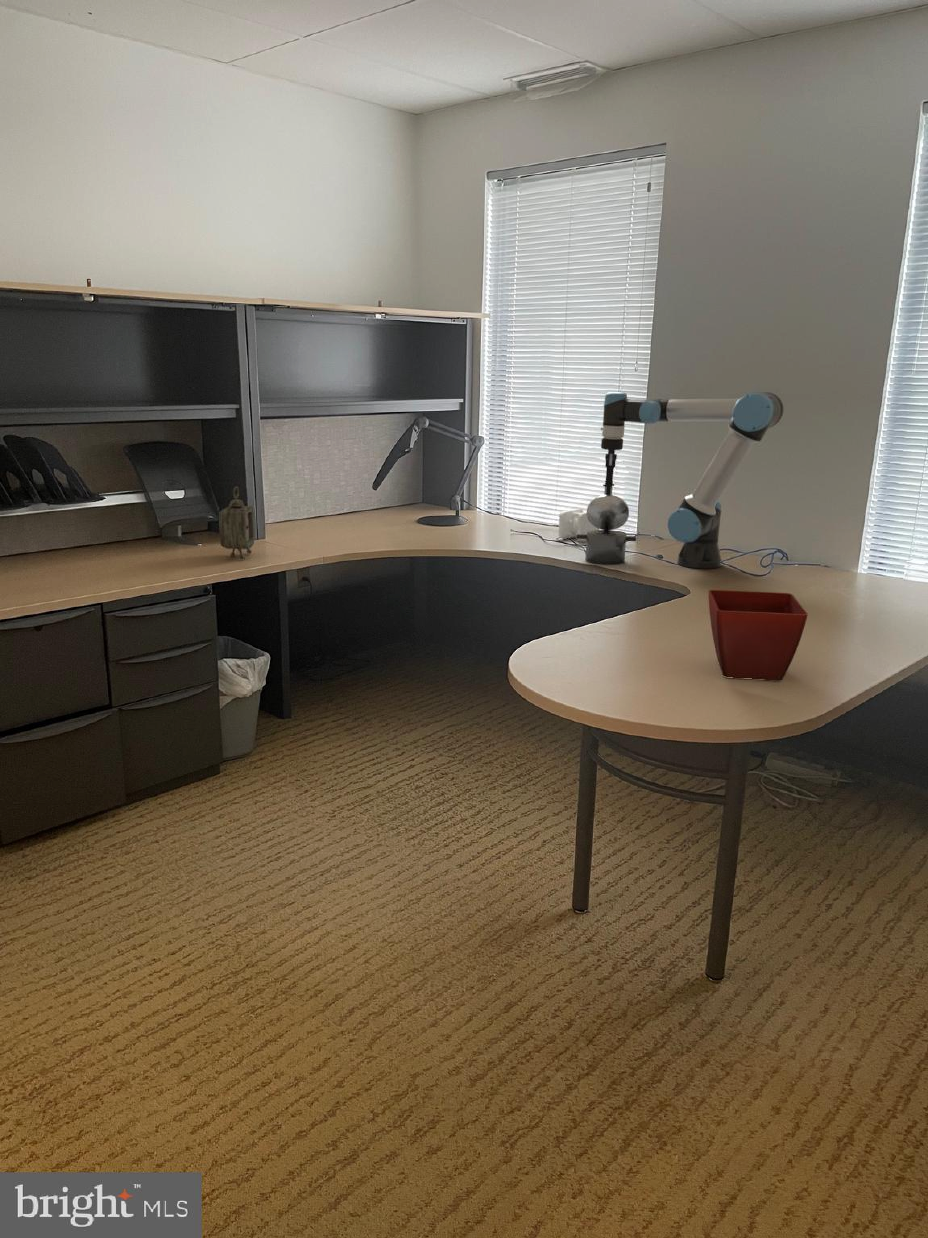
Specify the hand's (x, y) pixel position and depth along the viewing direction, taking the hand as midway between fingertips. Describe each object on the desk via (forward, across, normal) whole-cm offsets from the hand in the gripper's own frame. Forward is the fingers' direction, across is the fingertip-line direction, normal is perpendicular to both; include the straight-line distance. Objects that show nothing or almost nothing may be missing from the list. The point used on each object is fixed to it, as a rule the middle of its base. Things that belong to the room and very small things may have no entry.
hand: (607, 504), depth 322 cm
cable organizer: (+22, -37, -11) cm, 44 cm away
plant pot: (+15, +121, +36) cm, 127 cm away
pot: (+20, +4, +1) cm, 20 cm away
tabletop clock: (+21, +31, -128) cm, 133 cm away
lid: (+3, 0, 0) cm, 3 cm away
